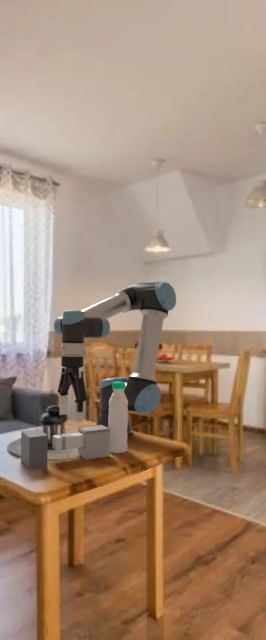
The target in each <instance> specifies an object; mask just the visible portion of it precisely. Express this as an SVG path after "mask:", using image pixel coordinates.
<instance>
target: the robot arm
mask: <svg viewBox="0 0 266 640" xmlns="http://www.w3.org/2000/svg"><path fill="white" fill-rule="evenodd" d="M176 295H177V294H176V292H175V288H174V287H173V286H172V285H171V284H170V283H169V282H165V281H155V282H154V281H153V282H138V283H134V284H130V285H129V286H126V287H124V288H122V289H120V290H119V289H118V291H115V292H114V293H113V295H112V296H110V297H109V298H105V299H104V300H102V301H99V302H97V303H94V304H93V305H90V306H88V307H86V308H84V309H81V310H72V309H71V310H70V309H67V310H64V311H63V313H62V316H59V317H57V318H56V319H55V321H54V323H53V329H54V333H55V334H57V335H58V336H60V337H61V346H60V349H61V360H60V361H61V364H60V365H61V367H62V368H61V372H60V373H61V374H60V379H59V383H58V388H57V393H58V394H59V398H60V399H59V415H60V416H61V415H68V413H69V412H68V410H69V395H70V394H69V391H70V388H71V386H72V390H73V394H74V397H75V400H74V423H81V422H82V423H83V422H84V402H86V401H87V400H88V398H87V392H86V384H85V378H84V371H83V370H82V371H80V369H81V368H83V367H84V361H85V360H84V359H85V358H84V356H83V355H84V354H85V339H86V338H87V339H88V338H89V339H101V338H103V339H104V338H106V337H108V335H109V334H110V330H111V324H110V321H109V320H108V319H111V318H112V317H114V316H116V315H118V314H120V313H128V312H129V311H139V312H140V315H142V320H141V326H140V327H141V328H140V332H139V338H138V343H137V348H136V349H137V350H136V355H135V362H134V366H133V371H132V373H131V374H130V375H129V376H128V377H126V376H121V377H120V376H119V377H109V378H103V379H102V380H101V381H100V385H99V387H100V388H99V416H98V418H97V421H96V424H95V425H103V426H105V427H107V428H109V425H108V416H109V400H110V398H111V395H112V393H113V388H112V383H113V382H124V383H125V390H124V393H125V395H126V398H127V400H128V406H127V407H128V411H129V412H135V413H139V414H150V413H152V412H153V411H155V410H156V409H157V408H158V406H159V404H160V401H161V398H162V397H161V396H162V394H161V393H162V392H161V389H160V387H159V386H158V385H157V384H158V381H157V378H155V373H156V367H157V360H158V356H159V348H160V344H161V336H162V330H163V324H164V320H165V319H166V318H168V316H169V311H172V310H174V309H175V307H176V304H177V296H176ZM127 434H128V435H131V434H132V425H131V422H130V418H129V416H128V426H127Z"/></svg>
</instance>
